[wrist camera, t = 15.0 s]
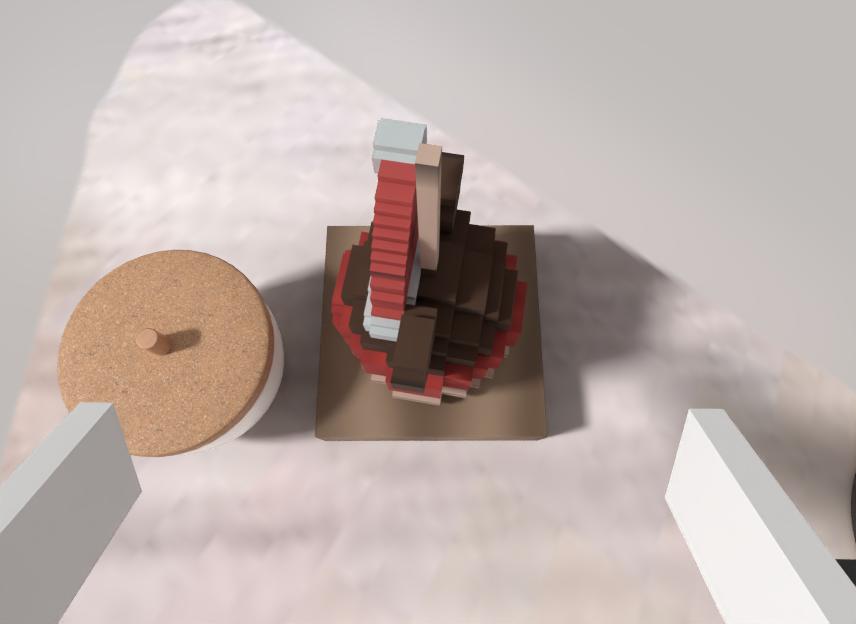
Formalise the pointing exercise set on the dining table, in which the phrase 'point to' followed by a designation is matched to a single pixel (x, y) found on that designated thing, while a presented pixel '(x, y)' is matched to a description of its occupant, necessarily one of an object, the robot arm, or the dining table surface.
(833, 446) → the dining table surface
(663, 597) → the dining table surface
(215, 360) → the lidded jar
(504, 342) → the cake
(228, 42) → the dining table surface
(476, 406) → the plinth
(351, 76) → the dining table surface
